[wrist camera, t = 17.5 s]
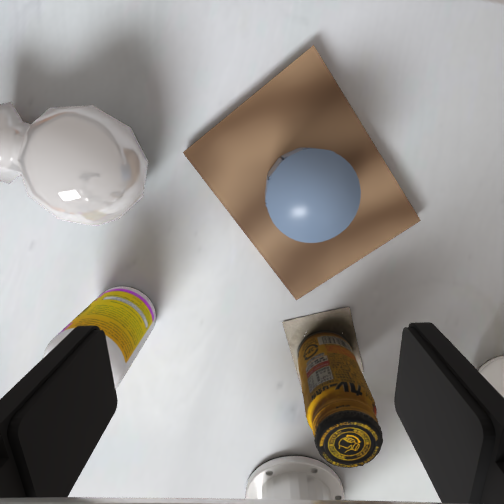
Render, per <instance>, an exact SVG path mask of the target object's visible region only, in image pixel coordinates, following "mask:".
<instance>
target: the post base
mask: <svg viewBox="0 0 504 504" xmlns="http://www.w3.org/2000/svg"><path fill="white" fill-rule="evenodd" d="M300 147H301V148H316V149H325V150H331V151H334V152H335V153H336V154H338V155H340V156H341V157H343V158H344V159H345V160H346V161H348V162H349V163H350V165H351V166H352V167H353V169H354V170H355V172H356V174H357V176H358V179H359V183H360V189H361V199H360V204H359V208H358V211H357V213H356V215H355V217H354V219H353V221H352V222H351V223H350V225H349V226H348V227H347V228H346V229H345V230H344V231H342V232H341V233H340V234H338V235H337V236H335V237H333V238H331V239H329V240H326V241H323V242H318V243H305V242H300V241H296V240H294V239H291V238H289V237H288V236H286V235H285V234H283V233H282V232H281V231H280V230H279V229H278V228H277V227H276V226H275V224H274V223H273V221H272V219H271V217H270V215H269V212H268V209H267V207H266V205H265V188H266V180H267V175H268V172H269V170H270V169H271V168H272V166H273V165H274V164H275V162H276V161H277V159H278V158H279V157H280V158H281V156H282V155H284V154H286V153H288V152H290V151H293V150H295V149H297V148H300ZM183 153H184V155H185V156H186V157H187V159H188V160H189V161H190V162H191V164H192V165H193V166H194V168H195V169H196V170H197V172H198V173H199V174H200V175H201V177H202V178H203V179H204V181H205V182H206V183H207V185H208V186H209V187H210V188H211V190H212V191H213V192H214V194H215V195H216V196H217V198H218V199H219V200H220V201H221V203H222V204H223V205H224V207H225V208H226V209H227V211H228V212H229V213H230V215H231V216H232V217H233V218H234V220H235V221H236V222H237V224H238V225H239V226H240V228H241V229H242V230H243V231H244V233H245V234H246V235H247V237H248V238H249V239H250V241H251V242H252V243H253V244H254V246H255V247H256V248H257V250H258V251H259V252H260V254H261V255H262V256H263V257H264V259H265V260H266V261H267V263H268V264H269V265H270V267H271V268H272V269H273V270H274V272H275V273H276V274H277V276H278V277H279V278H280V280H281V281H282V282H283V283H284V285H285V286H286V287H287V289H288V290H289V291H290V293H291V294H292V295H293V297H294V298H295V299H296V300H297V299H299V298H301V297H302V296H304V295H305V294H307V293H308V292H310V291H312V290H313V289H315V288H316V287H318V286H319V285H321V284H322V283H324V282H326V281H327V280H329V279H330V278H332V277H333V276H335V275H336V274H338V273H340V272H341V271H343V270H344V269H346V268H347V267H349V266H351V265H352V264H354V263H355V262H357V261H358V260H360V259H361V258H363V257H365V256H366V255H368V254H369V253H371V252H372V251H374V250H375V249H377V248H379V247H380V246H382V245H383V244H385V243H386V242H388V241H390V240H391V239H393V238H394V237H396V236H397V235H399V234H400V233H402V232H404V231H405V230H407V229H408V228H410V227H411V226H413V225H414V224H416V223H418V222H419V221H421V220H420V219H419V217H418V215H417V214H416V212H415V210H414V209H413V207H412V206H411V204H410V202H409V201H408V199H407V197H406V196H405V194H404V192H403V191H402V189H401V188H400V186H399V184H398V183H397V181H396V179H395V178H394V176H393V174H392V173H391V171H390V170H389V168H388V166H387V165H386V163H385V161H384V160H383V158H382V156H381V155H380V153H379V152H378V150H377V148H376V147H375V145H374V143H373V142H372V140H371V138H370V137H369V135H368V134H367V132H366V130H365V129H364V127H363V125H362V124H361V122H360V120H359V119H358V117H357V115H356V114H355V112H354V111H353V109H352V107H351V106H350V104H349V102H348V101H347V99H346V97H345V96H344V94H343V93H342V91H341V89H340V88H339V86H338V84H337V83H336V81H335V79H334V78H333V76H332V75H331V73H330V71H329V70H328V68H327V66H326V65H325V63H324V61H323V60H322V58H321V57H320V55H319V53H318V52H317V50H316V48H315V47H314V45H313V46H312V47H311V48H310V49H308V50H307V51H306V52H305V53H303V54H302V55H301V56H300V57H299V58H297V59H296V60H295V61H294V62H292V63H291V64H290V65H289V66H288V67H286V68H285V69H284V70H283V71H282V72H280V73H279V74H278V75H277V76H275V77H274V78H273V79H272V80H271V81H269V82H268V83H267V84H266V85H264V86H263V87H262V88H261V89H260V90H258V91H257V92H256V93H255V94H254V95H252V96H251V97H250V98H249V99H247V100H246V101H245V102H244V103H243V104H241V105H240V106H239V107H238V108H236V109H235V110H234V111H233V112H232V113H230V114H229V115H228V116H227V117H226V118H224V119H223V120H222V121H221V122H219V123H218V124H217V125H216V126H215V127H213V128H212V129H211V130H210V131H208V132H207V133H206V134H205V135H204V136H202V137H201V138H200V139H199V140H198V141H196V142H195V143H194V144H193V145H191V146H190V147H189V148H188V149H187V150H185V151H184V152H183ZM281 159H282V158H281Z"/></svg>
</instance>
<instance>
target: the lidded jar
mask: <svg viewBox="0 0 504 504" xmlns="http://www.w3.org/2000/svg"><path fill="white" fill-rule="evenodd" d="M478 371H479V372H480V374H481V375H482V376H483V377H484V378H485V379H486V380H487V381H488V382H489V383H490V384H491V385H492V386H493V387H494V388H495V389H496V390H497V391H498V392H499V393H500V394H501V395H502V396H503V398H504V356H499V357H495V358H493V359H491V360H489V361H487V362H486V363H485V364H483V365H482V366H481V367H480V369H479V370H478Z"/></svg>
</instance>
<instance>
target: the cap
mask: <svg viewBox="0 0 504 504" xmlns="http://www.w3.org/2000/svg"><path fill="white" fill-rule="evenodd" d="M281 158H282V159H281ZM281 158H280V157H279V158H278V159H277V161H276V162H275V164H274V165H273V166H272V168H271V169H270V170H269V172H268V175H267V180H266V188H265V205H266V207H267V209H268V212H269V215H270V217H271V219H272V221H273V223H274V224H275V226H276V227H277V228H278V229H279V230H280V231H281V232H282V233H283V234H285V235H286V236H288V237H289V238H291V239H294V240H296V241H300V242H305V243H318V242H323V241H326V240H329V239H331V238H333V237H335V236H337V235H338V234H340V233H341V232H342V231H344V230H345V229H346V228H347V227H348V226H349V225H350V223H351V222H352V221H353V219H354V217H355V215H356V213H357V211H358V208H359V204H360V199H361V189H360V183H359V179H358V176H357V174H356V172H355V170H354V169H353V167H352V166H351V165H350V163H349V162H348V161H346V160H345V159H344V158H343V157H341V156H340V155H338V154H336V153H335V152H334V151H331V150H325V149H316V148H301V147H300V148H297V149H295V150H293V151H290V152H288V153H286V154H284V155H282V156H281Z"/></svg>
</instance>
